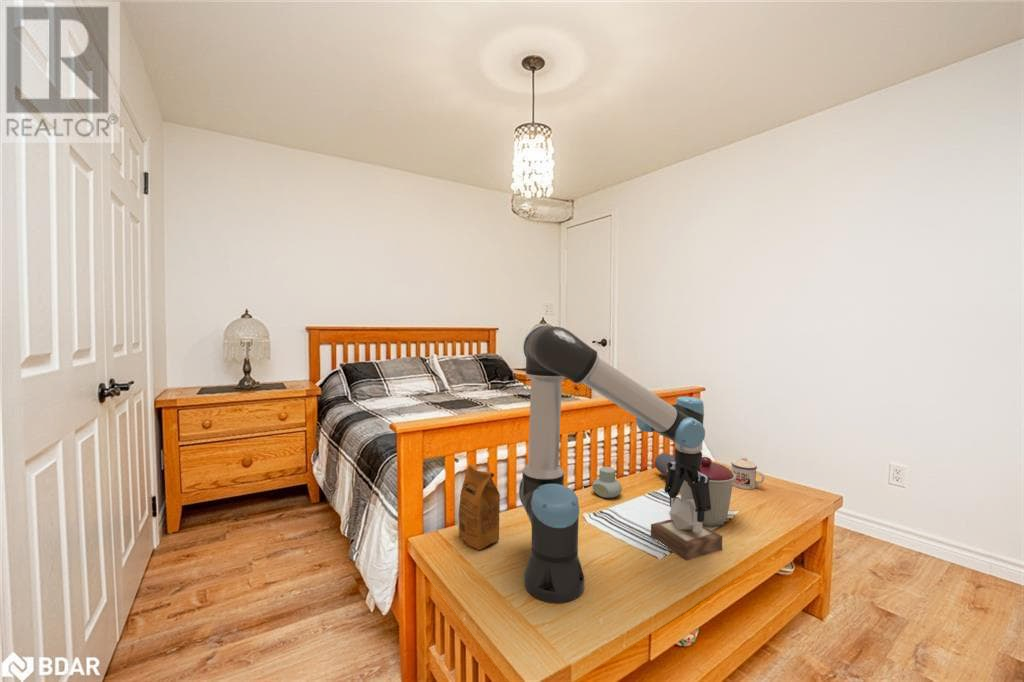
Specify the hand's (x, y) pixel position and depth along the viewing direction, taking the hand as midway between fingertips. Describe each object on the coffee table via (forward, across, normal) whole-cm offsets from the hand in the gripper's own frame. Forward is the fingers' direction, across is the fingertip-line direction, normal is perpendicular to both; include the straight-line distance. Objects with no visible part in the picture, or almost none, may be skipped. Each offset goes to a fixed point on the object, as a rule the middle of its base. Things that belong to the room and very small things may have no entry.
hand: (685, 524), depth 128 cm
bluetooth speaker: (+6, +35, -33) cm, 49 cm away
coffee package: (+6, +27, +56) cm, 62 cm away
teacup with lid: (+6, +22, -57) cm, 61 cm away
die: (+1, 0, 0) cm, 1 cm away
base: (+6, 0, 0) cm, 6 cm away
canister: (+6, +9, -18) cm, 21 cm away
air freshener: (+6, +38, 0) cm, 38 cm away
